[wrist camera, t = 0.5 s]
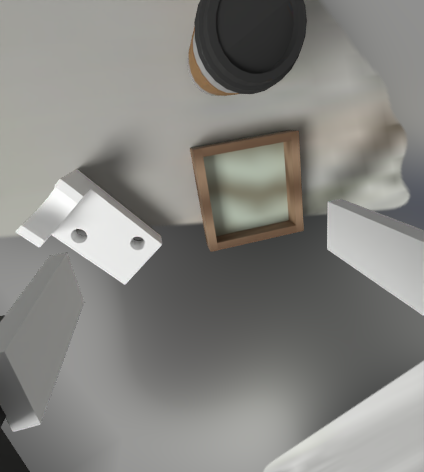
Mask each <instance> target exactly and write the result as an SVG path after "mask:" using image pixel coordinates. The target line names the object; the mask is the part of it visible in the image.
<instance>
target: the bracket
mask: <svg viewBox="0 0 424 472" xmlns="http://www.w3.org/2000/svg"><path fill="white" fill-rule="evenodd" d="M54 186H55V189H54V190H53V191H52V193H51V194H50V195H49V197H48V198H47V199H46V200H45V201H44V203H43V204H42V205H41V206H40V207H39V208H38V209H37V210H36V211H35V212H34V214H33V215H32V216H31V217H30V218H29V219H28V220H26V221H25V222H24V223H23V224H22V225H21V226H20V227H19V228H18V229H17V231H16V233H18V234H19V235H21V236H22V237H24V238H25V239H27V240H28V241H30V242H32V243H33V244H34V245H36V246H38V247H40V246H41V245H42V244H43V243H44V242H45V241H46V240H47V239H48V237H50V235H52V236H54V237H55V238H57V239H58V240H60V241H61V242H63V243H64V244H66V245H67V246H69V247H70V248H72V249H73V250H75V251H76V252H77V253H79V254H80V255H82V256H84V257H85V258H87V259H88V260H89V261H91V262H92V263H94V264H95V265H97V266H98V267H100V268H101V269H103V270H104V271H106V272H107V273H108V274H110V275H111V276H113V277H114V278H116V279H117V280H119V281H120V282H122V283H123V284H126V283H127V282H128V281H129V280H130V279H131V278H132V276H133V275H134V274H135V273H136V272H137V271H138V270H139V269H140V268H141V267H142V266H143V265H144V264H145V263H146V261H147V260H148V259H149V258H150V257H151V256H152V255H153V254H154V253H155V252H156V250H158V249H159V247H160V246H161V245H162V239H161V235H160V234H159V233H158V232H156V231H155V230H154V229H153V228H151V227H150V226H148V225H147V224H146V223H144V222H143V221H142V220H141V219H139V218H138V217H137V216H136V215H134V214H133V213H132V212H130V211H129V210H128V209H127V208H125V207H124V206H123V205H122V204H120V203H119V202H118V201H117V200H115V199H114V198H113V197H112V196H110V195H109V194H108V193H107V192H105V191H104V190H103V189H102V188H100V187H99V186H98V185H97V184H95V183H94V182H93V181H91V180H90V179H89V178H88V177H86V176H85V175H84V174H83V173H81V172H80V171H79V170H78V169H76V170H74V171H73V172H71V173H69V174H67V175H66V176H64V177H62V178H61V179H60V180H59V181H58V182H57V183H56V184H55V185H54ZM76 229H82V230H84V231H85V232H86V234H87V235H86V236H82V235H79V234H78V233H77V231H76ZM134 237H141V238H143V239H142V240H135V239H134Z"/></svg>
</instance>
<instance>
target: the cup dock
mask: <svg viewBox="0 0 424 472" xmlns="http://www.w3.org/2000/svg"><path fill="white" fill-rule="evenodd" d="M190 152H191V157H192V163H193V169H194V174H195V180H196V185H197V191H198V197H199V202H200V208H201V214H202V219H203V225H204V231H205V236H206V242H207V245H208V247H209V249H210V251H211V252H212V251H217V250H221V249H225V248H230V247H234V246H239V245H243V244H247V243H251V242H256V241H260V240H265V239H269V238H273V237H278V236H282V235H287V234H291V233H296V232H300V231H303V230H304V229H303V208H302V187H301V166H300V145H299V131H292V130H288V131H282V132H277V133H271V134H266V135H260V136H255V137H249V138H243V139H238V140H232V141H227V142H221V143H216V144H210V145H205V146H199V147H194V148H190Z"/></svg>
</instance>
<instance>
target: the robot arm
mask: <svg viewBox="0 0 424 472" xmlns="http://www.w3.org/2000/svg"><path fill="white" fill-rule="evenodd" d="M327 226H328V227H327V231H328V232H327V234H328V235H327V249H328V250H329V251H331V252H332V253H334V254H335V255H337V256H338V257H339V258H341V259H342V260H344V261H345V262H347V263H348V264H349V265H351V266H352V267H354V268H355V269H357V270H358V271H360V272H361V273H362V274H364V275H365V276H367V277H368V278H370V279H371V280H373V281H374V282H376V283H377V284H378V285H380V286H381V287H383V288H384V289H386V290H387V291H388V292H390V293H392V294H393V295H394V296H396V297H397V298H399V299H400V300H402V301H403V302H404V303H406V304H407V305H409V306H410V307H412V308H413V309H415V310H416V311H418V312H419V313H421V314H422V315H423V316H424V230H421V229H419V228H416V227H413V226H411V225H408V224H406V223H403V222H400V221H398V220H395V219H392V218H390V217H387V216H385V215H382V214H379V213H377V212H374V211H372V210H369V209H366V208H364V207H361V206H358V205H356V204H353V203H351V202H348V201H345V200H343V199H338V200H333V201H328V225H327ZM83 305H84V299H83V296H82V294H81V291H80V288H79V285H78V282H77V279H76V276H75V273H74V270H73V268H72V265H71V262H70V259H69V256H68V253H67V252H66V253H61V254H55V255H50V256H49V258H48V259H47V260H46V262H45V263H44V264H43V266H42V267H41V268H40V270H39V271H38V272H37V274H36V275H35V276H34V278H33V279H32V280H31V282H30V283H29V284H28V286H27V287H26V288H25V290H24V291H23V292H22V294H21V295H20V296H19V298H18V299H17V300H16V302H15V303H14V304H13V306H12V307H11V309H10V310H9V311H8V312H7V314H6V315H4V316H0V472H30V471H29V470H28V468H27V467H26V465H25V464H24V462H23V461H22V459H21V458H20V456H19V455H18V453H17V452H16V450H15V449H14V447H13V446H12V444H11V442H10V441H9V439H8V438H7V436H6V435H5V433H4V432H3V430H2V429H1V425H2V423H3V421H4V419H5V418H6V420H7V422H8V424H9V425H10V427H11V429H12V431H13V432H14V431H18V430H22V429H26V428H30V427H33V426H37V425H40V424H41V422H42V420H43V417H44V414H45V411H46V408H47V405H48V402H49V400H50V397H51V394H52V391H53V388H54V386H55V383H56V380H57V378H58V375H59V372H60V369H61V366H62V364H63V361H64V358H65V355H66V352H67V350H68V347H69V344H70V341H71V338H72V335H73V333H74V330H75V327H76V324H77V322H78V319H79V316H80V313H81V310H82V307H83Z"/></svg>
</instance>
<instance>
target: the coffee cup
mask: <svg viewBox="0 0 424 472" xmlns="http://www.w3.org/2000/svg"><path fill="white" fill-rule="evenodd" d="M306 23H307V19H306V10H305V4H304V1H303V0H201V1H200V3H199V5H198V9H197V13H196V18H195V27H194V31H193V36H192V40H191V44H190V49H189V56H188V70H189V74H190V77H191V79H192V81H193V82H194V84H195V85H196V86H197V87H198V88H199V89H200V90H201V91H203V92H204V93H206V94H209V95H214V96H220V95H223V96H226V95H235V94H254V93H258V92H261V91H265V90H267V89H268V88H270V87H271V86H273V85H275V84H276V83H277V82H279V81H280V80H282V79H283V77H284V76H285V75H286V74H287V73H288V72H289V71H290V70H291V69H292V67H293V65H294V63H295V62H296V60H297V58H298V56H299V53H300V51H301V48H302V45H303V42H304V38H305V33H306Z"/></svg>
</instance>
